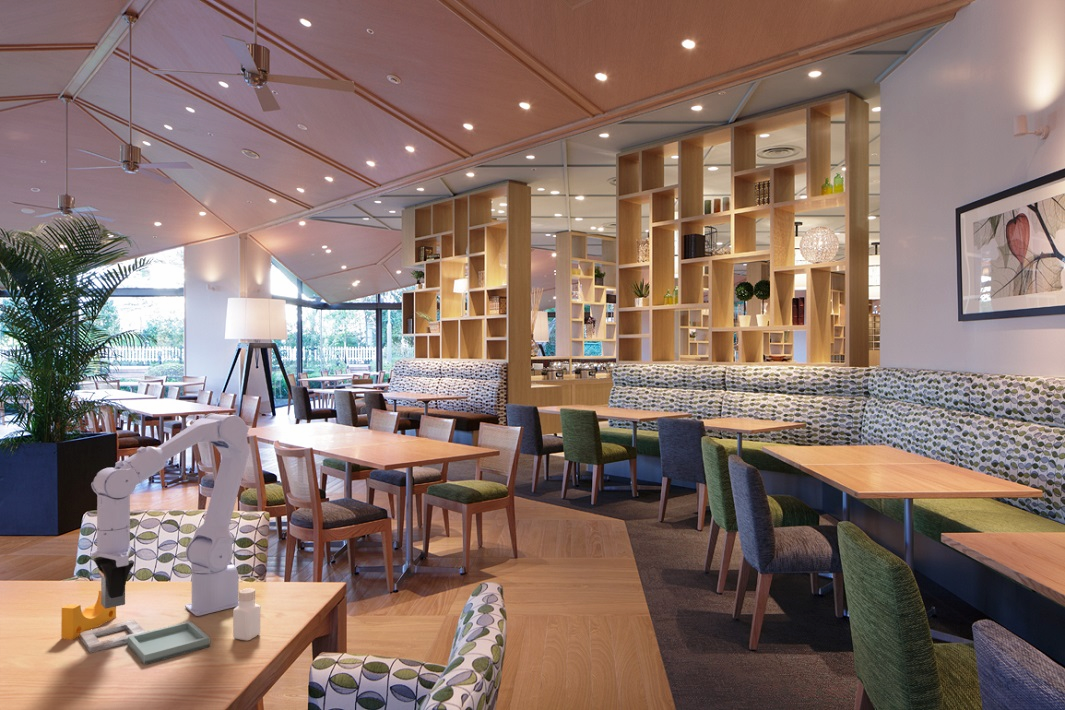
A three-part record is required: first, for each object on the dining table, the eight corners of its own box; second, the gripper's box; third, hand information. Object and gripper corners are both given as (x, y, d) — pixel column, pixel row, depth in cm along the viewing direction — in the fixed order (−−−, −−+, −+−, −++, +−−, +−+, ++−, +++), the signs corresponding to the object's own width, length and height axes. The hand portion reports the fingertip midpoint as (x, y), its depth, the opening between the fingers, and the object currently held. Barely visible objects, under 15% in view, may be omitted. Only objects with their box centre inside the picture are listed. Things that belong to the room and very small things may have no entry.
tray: (190, 629, 145) (190, 621, 145) (209, 646, 136) (209, 637, 136) (128, 645, 137) (128, 636, 137) (144, 664, 128) (144, 655, 128)
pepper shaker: (231, 639, 140) (231, 592, 140) (246, 631, 144) (246, 586, 144) (247, 642, 138) (247, 595, 138) (261, 634, 142) (261, 588, 142)
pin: (122, 599, 143) (122, 565, 143) (127, 604, 140) (127, 569, 140) (98, 604, 140) (98, 569, 140) (103, 609, 137) (103, 574, 137)
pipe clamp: (97, 616, 152) (98, 587, 152) (115, 617, 151) (116, 588, 151) (53, 639, 140) (53, 607, 140) (72, 640, 139) (73, 608, 139)
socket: (134, 624, 147) (134, 619, 147) (147, 638, 140) (147, 633, 140) (79, 637, 140) (79, 632, 140) (90, 652, 133) (90, 647, 133)
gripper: (82, 524, 143) (82, 589, 143) (99, 537, 132) (99, 608, 132) (121, 518, 148) (121, 581, 148) (140, 531, 137) (140, 599, 137)
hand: (113, 593), depth 140 cm, fingers closed on pin, 4 cm apart
